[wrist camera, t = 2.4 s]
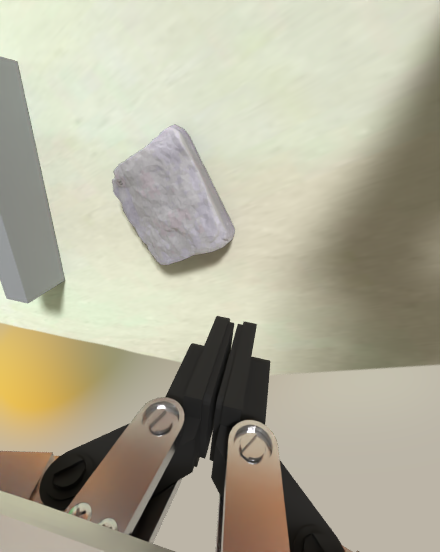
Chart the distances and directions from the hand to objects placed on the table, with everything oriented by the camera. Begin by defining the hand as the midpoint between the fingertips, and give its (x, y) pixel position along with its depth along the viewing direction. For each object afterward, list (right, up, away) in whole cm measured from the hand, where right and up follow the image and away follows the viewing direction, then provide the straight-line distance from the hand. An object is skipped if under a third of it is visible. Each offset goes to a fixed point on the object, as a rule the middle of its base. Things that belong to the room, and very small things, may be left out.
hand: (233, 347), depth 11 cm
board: (-22, +13, +20) cm, 33 cm away
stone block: (-5, +11, +18) cm, 21 cm away
